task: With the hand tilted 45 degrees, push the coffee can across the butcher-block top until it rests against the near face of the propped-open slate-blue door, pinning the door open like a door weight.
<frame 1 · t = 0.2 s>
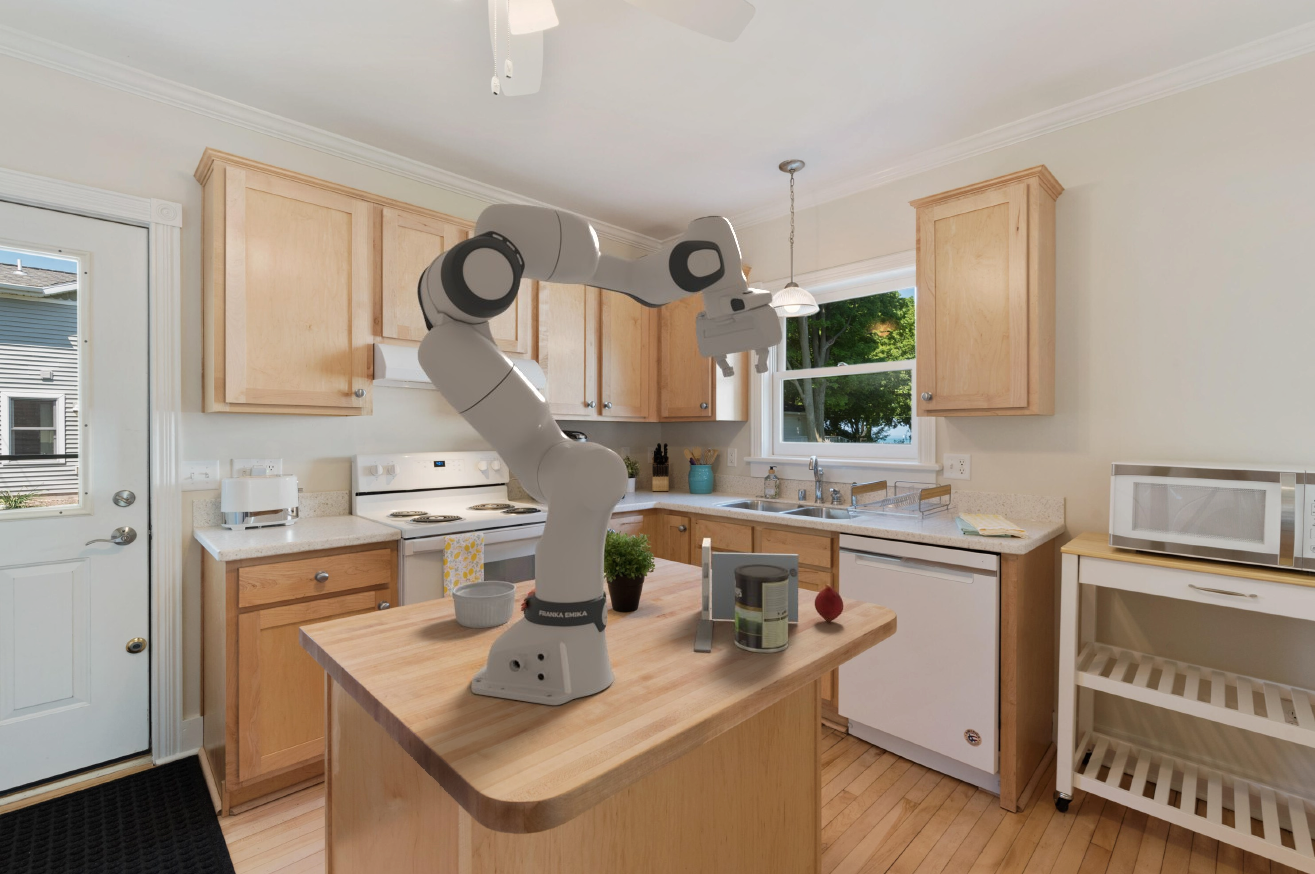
hand: (745, 374, 120), 51 cm above the countertop, tool tilted 20°, fingers open, 8 cm apart
ramekin: (484, 621, 132), on the countertop
onion: (828, 622, 131), on the countertop
door: (754, 587, 130), point 8 cm above the countertop, hinge at 0.0°
door frame: (705, 620, 132), on the countertop
coffee can: (761, 644, 118), on the countertop
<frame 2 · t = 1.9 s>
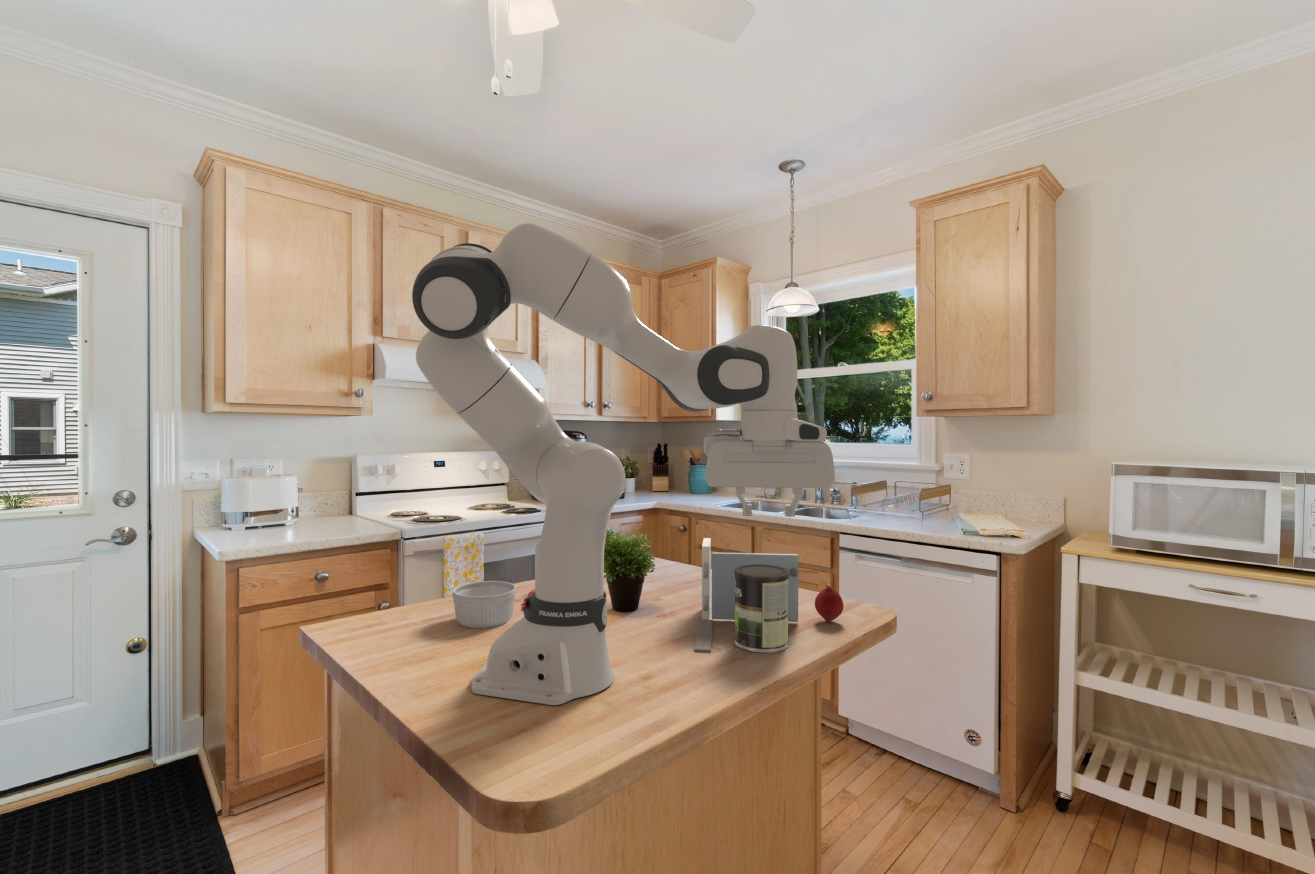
hand: (768, 515, 99), 27 cm above the countertop, tool pointing down, fingers open, 5 cm apart
nothing on the countertop moved.
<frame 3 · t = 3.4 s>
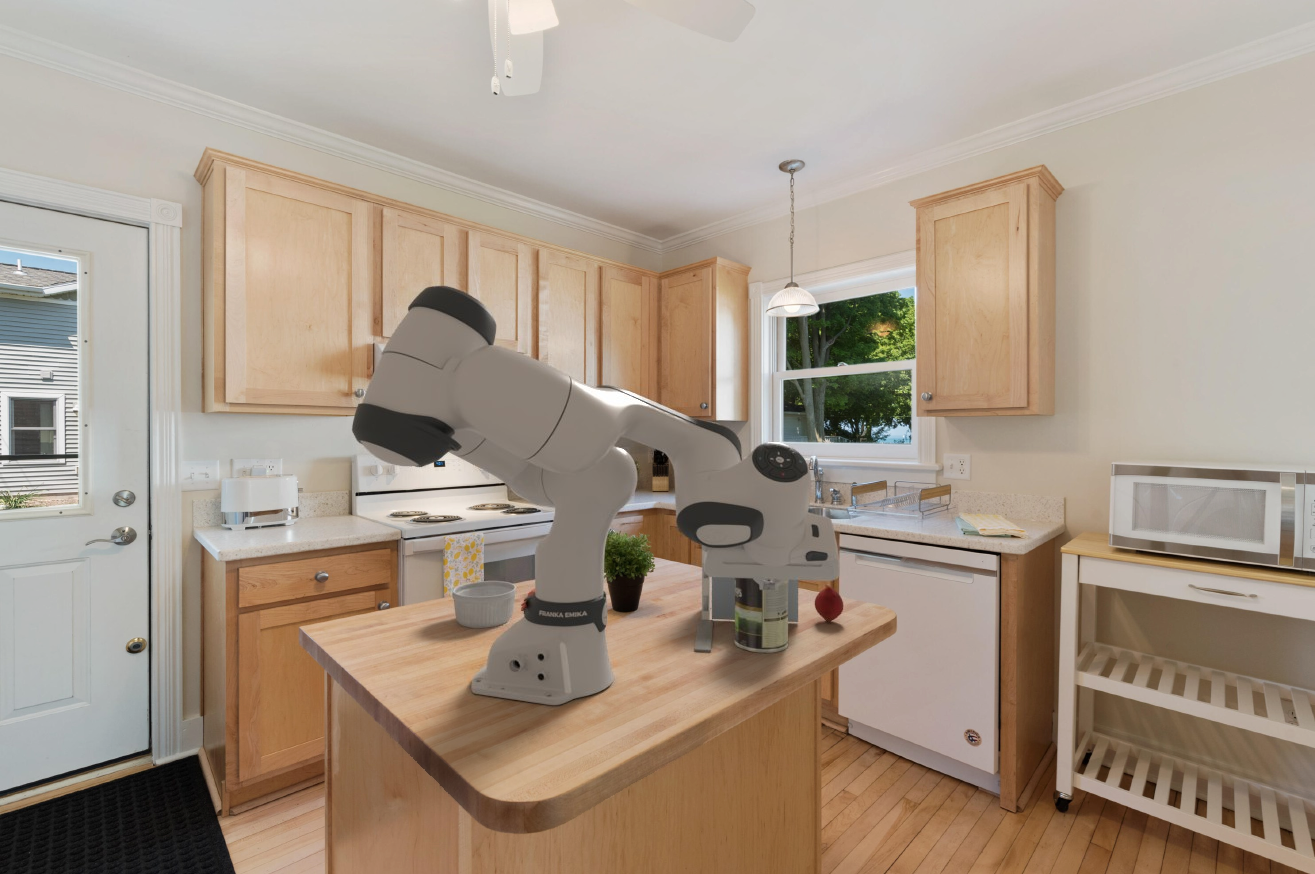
hand: (768, 586, 99), 16 cm above the countertop, tool tilted 45°, fingers closed
nothing on the countertop moved.
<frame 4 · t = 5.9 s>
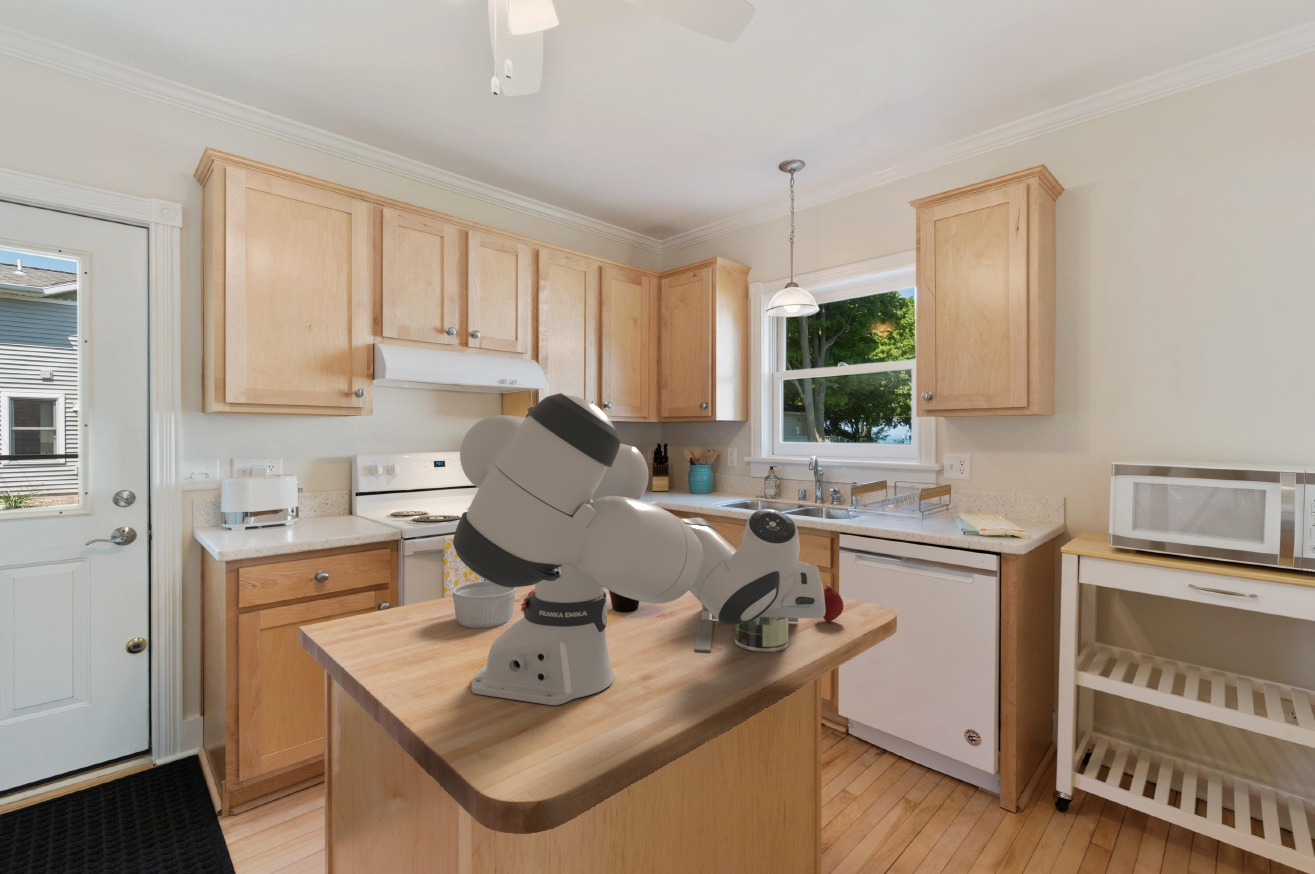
hand: (764, 621, 113), 6 cm above the countertop, tool tilted 45°, fingers closed, pressing on coffee can
coffee can: (761, 643, 119), on the countertop, touching gripper
everything else where it was.
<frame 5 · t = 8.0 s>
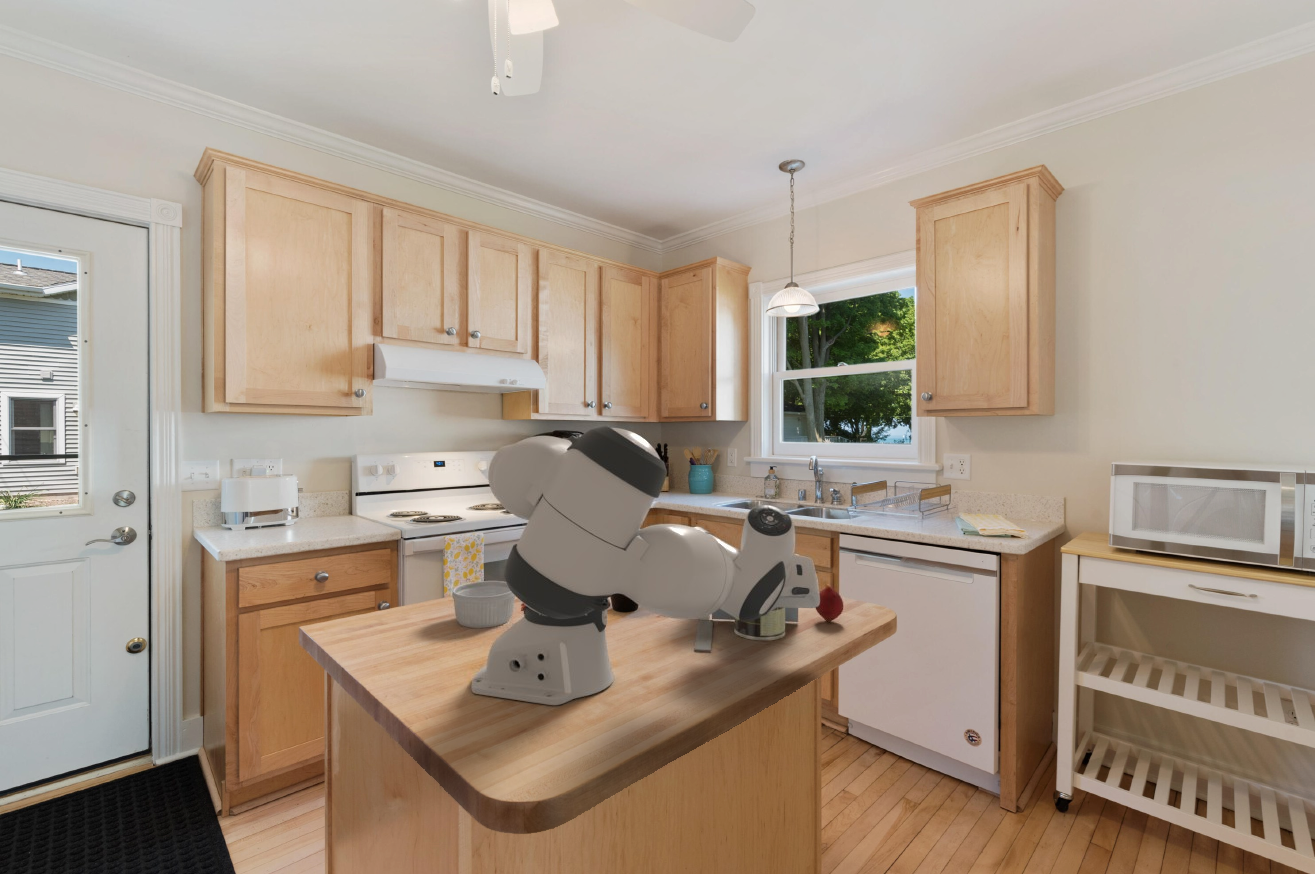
hand: (761, 611, 119), 6 cm above the countertop, tool tilted 45°, fingers closed
coffee can: (759, 633, 125), on the countertop
everything else where it was.
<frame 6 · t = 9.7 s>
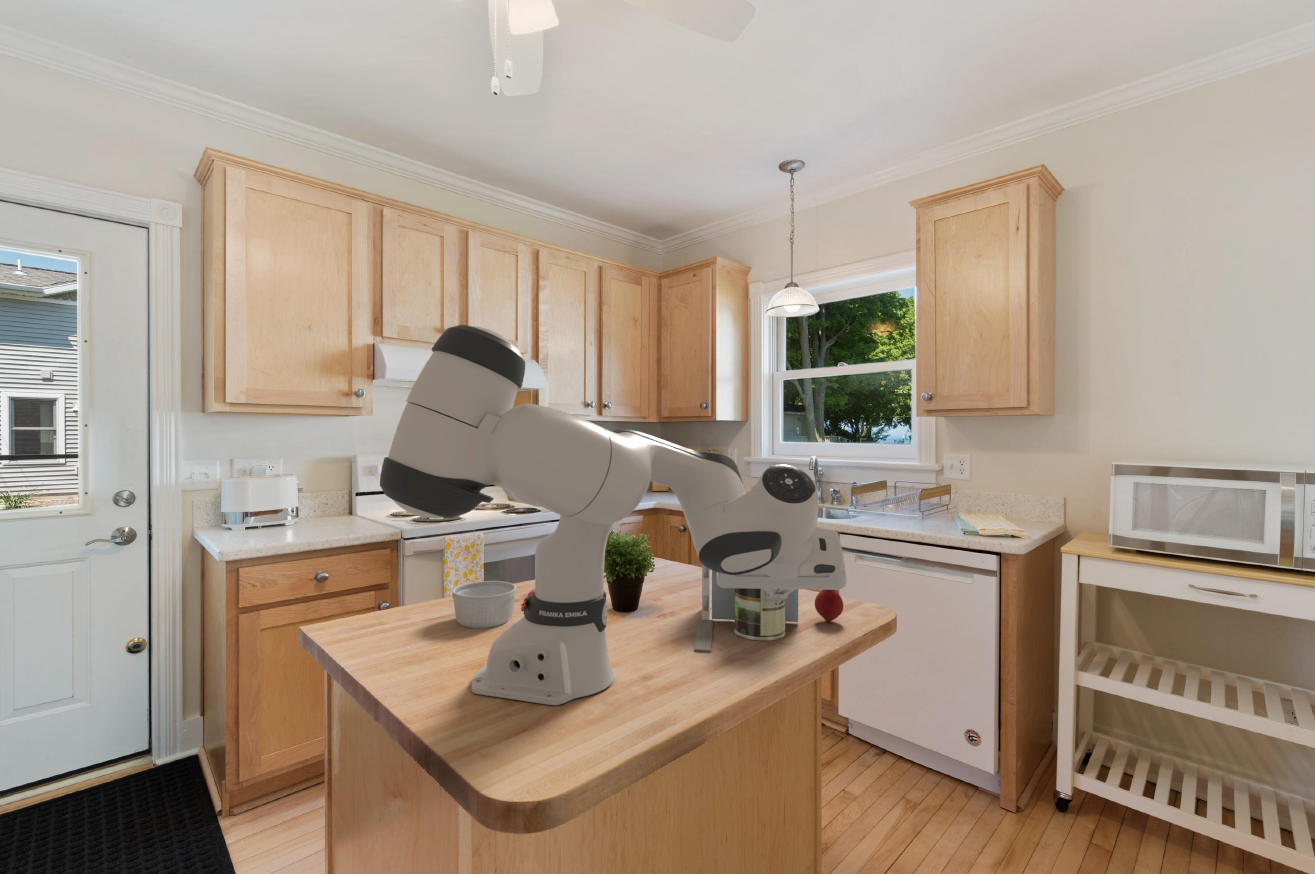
hand: (778, 594, 103), 13 cm above the countertop, tool tilted 45°, fingers closed
nothing on the countertop moved.
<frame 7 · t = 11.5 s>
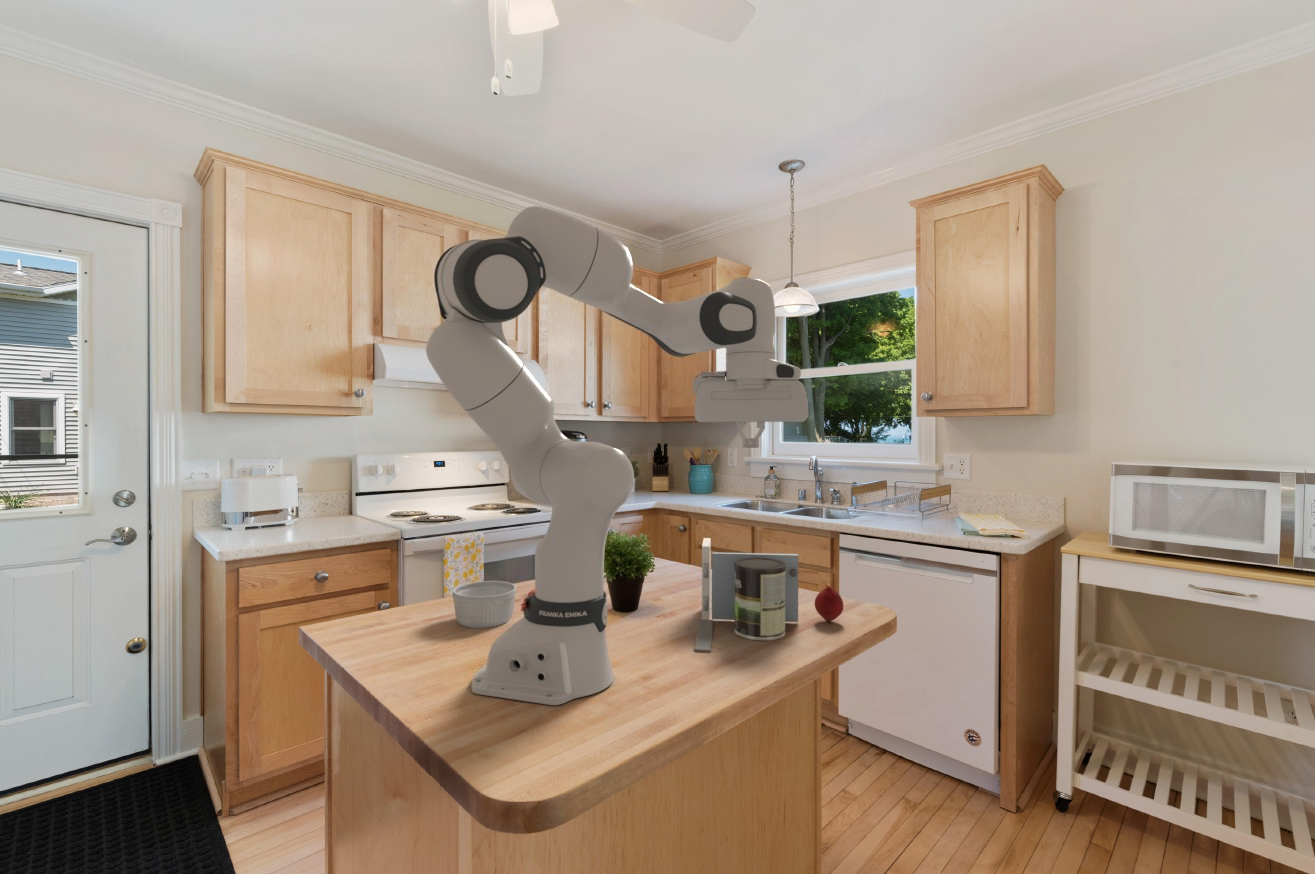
hand: (750, 447, 112), 38 cm above the countertop, tool pointing down, fingers closed
nothing on the countertop moved.
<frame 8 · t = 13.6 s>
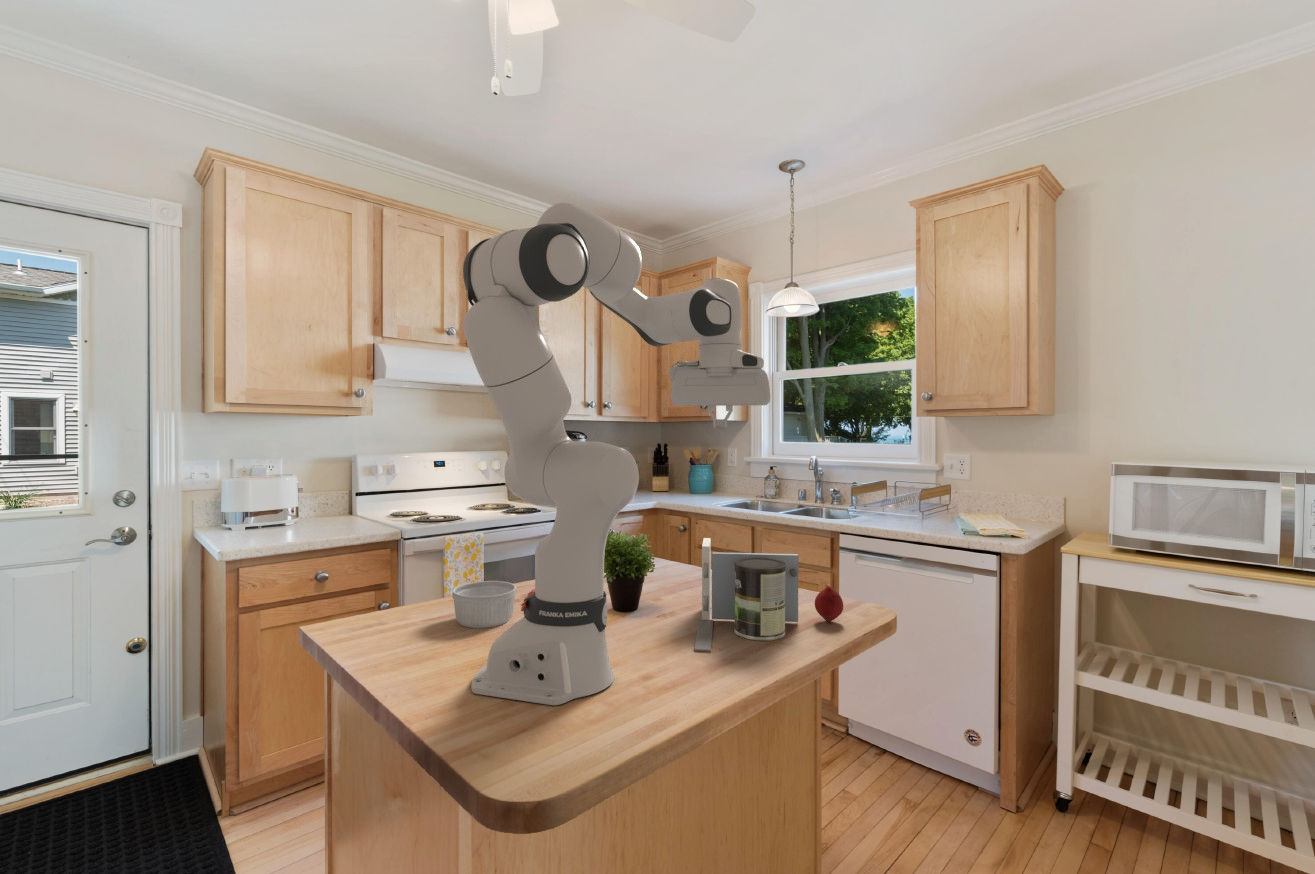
hand: (720, 428, 127), 41 cm above the countertop, tool pointing down, fingers closed
nothing on the countertop moved.
at the end: coffee can inside the target area on the countertop beside the door (1.5 cm from its centre), on the countertop; door at +0° (first picture: +0°); coffee can moved 6.5 cm from its start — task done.
